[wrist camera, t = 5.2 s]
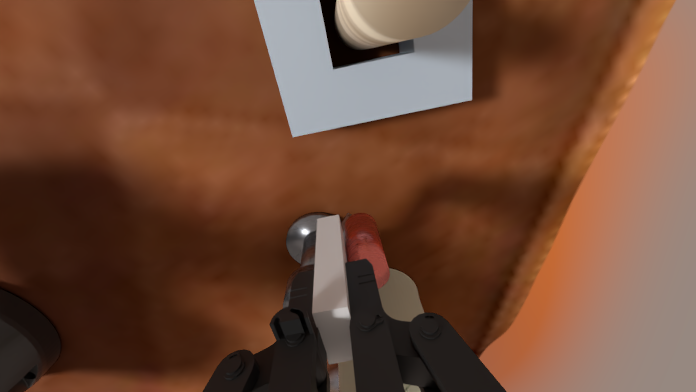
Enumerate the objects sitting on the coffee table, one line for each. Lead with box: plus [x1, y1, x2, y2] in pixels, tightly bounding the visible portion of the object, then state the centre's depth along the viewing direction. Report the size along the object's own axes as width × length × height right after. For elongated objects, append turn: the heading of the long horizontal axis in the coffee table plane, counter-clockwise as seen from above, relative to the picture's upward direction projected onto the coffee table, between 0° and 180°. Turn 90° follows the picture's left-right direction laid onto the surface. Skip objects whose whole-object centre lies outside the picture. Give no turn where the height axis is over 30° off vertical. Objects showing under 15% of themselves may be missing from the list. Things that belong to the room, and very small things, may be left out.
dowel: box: [334, 0, 470, 50], centre depth 13 cm, size 4×4×14 cm
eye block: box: [254, 0, 473, 137], centre depth 18 cm, size 12×12×4 cm
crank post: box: [286, 212, 342, 268], centre depth 25 cm, size 6×6×6 cm
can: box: [338, 268, 424, 392], centre depth 26 cm, size 9×9×12 cm
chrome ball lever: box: [283, 213, 390, 308], centre depth 18 cm, size 4×10×6 cm, turn 154°
